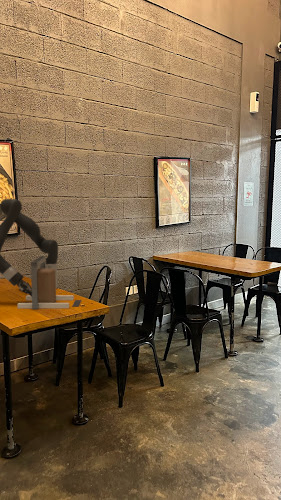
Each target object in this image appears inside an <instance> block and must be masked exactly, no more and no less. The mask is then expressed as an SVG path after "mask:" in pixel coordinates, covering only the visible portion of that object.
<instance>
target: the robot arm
mask: <svg viewBox="0 0 281 500" xmlns="http://www.w3.org/2000/svg"><path fill="white" fill-rule="evenodd" d="M22 207H23V205H22V202H21V200H18V199H16V198H5V199H3V200H1V202H0V210H1V212H2V213H3V214H4V215H6V217H5V218H4V220H3V221H2V222H1V223H0V274H1V275H2V276H3V277H4V278H5V279H6V280H7V281H8V282H9V283H10V284H11V285H12V286H13V287H15V286H17V287H18V288H19V289H18V290H19V291H20V292H22V293H24V294H26V295H30V296H31V297H32V285H31V284H30V282H28V281H25V280H24V275H23V274H22V273H20V271H18V270H17V269H16V268H15V267H14V266H13V265H12V264H11V263H9V262H8V261H7V260H6V259H5V258H4V256H3V255H2V254H1V252H2V249H3V246H4V243H5V241H6V239H7V237H8V234H9V232H10V230H11V228H12V226H13V225H14V224H16V226H18V228H20V229H21V230H22V231H23V233H25V234H26V236H28V237H29V239H31V240H32V242H33V243H34V244H35V245H36V246H37V248H38V249H39V250H40V251H41V252H42V253H44V254H47V257H46V269H55V278H56V289H58V258H59V257H58V256H59V245H58V242H57V241H56V240H54V239H46V238H45V237H43V236H42V234H41V229H40V226H39V225H38V224H37V223H36V221H34V220H33V218H31V217H29V216H28V215H26V214H24V213H22Z"/></svg>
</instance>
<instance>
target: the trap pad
mask: <svg viewBox="0 0 281 500" xmlns="http://www.w3.org/2000/svg"><path fill="white" fill-rule="evenodd" d="M81 303H82V299H75V300H74V302H73V304H72V305H71V307H73V308H74V307H75V308H76V307H78V308H79V307H80V305H81Z"/></svg>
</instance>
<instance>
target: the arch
mask: <svg viewBox="0 0 281 500" xmlns="http://www.w3.org/2000/svg"><path fill="white" fill-rule="evenodd" d="M46 258H47V257H46V256H43V255H42V256H41V255H40V256H39V257H38V258H36V259H34V260H33V261H31V262H30V273H31V279H30V280H31V288H32V300H31V303H32V308H31V310H39V309H40V308H39V303H38V269H40V268H45V269H46ZM38 267H40V268H38Z"/></svg>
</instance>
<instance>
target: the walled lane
mask: <svg viewBox="0 0 281 500" xmlns="http://www.w3.org/2000/svg"><path fill="white" fill-rule="evenodd" d="M25 301H32V297H31V296H30V295H29V294H26V296H25ZM56 301H74V295H72V294H70V295H68V294H66V295H61V294H59V295H58V294H56ZM17 309H32V302H19V303H17ZM39 309H70V302H55V303H39Z"/></svg>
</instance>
